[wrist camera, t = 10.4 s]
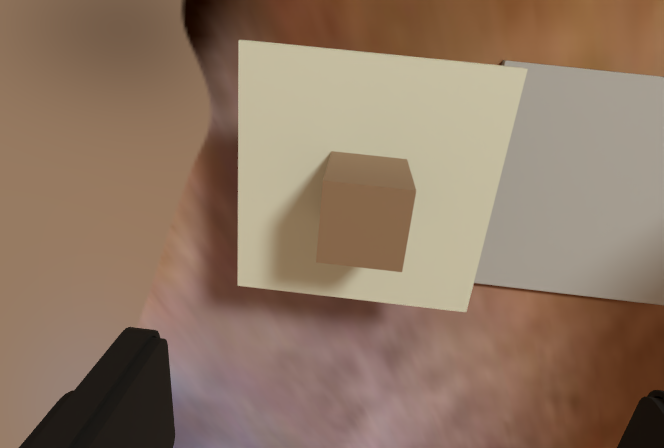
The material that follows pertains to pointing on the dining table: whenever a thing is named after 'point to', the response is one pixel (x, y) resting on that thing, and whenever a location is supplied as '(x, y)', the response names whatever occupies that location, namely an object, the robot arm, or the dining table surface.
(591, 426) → the dining table surface
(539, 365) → the dining table surface
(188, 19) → the dining table surface
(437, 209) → the lid
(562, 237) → the mat
